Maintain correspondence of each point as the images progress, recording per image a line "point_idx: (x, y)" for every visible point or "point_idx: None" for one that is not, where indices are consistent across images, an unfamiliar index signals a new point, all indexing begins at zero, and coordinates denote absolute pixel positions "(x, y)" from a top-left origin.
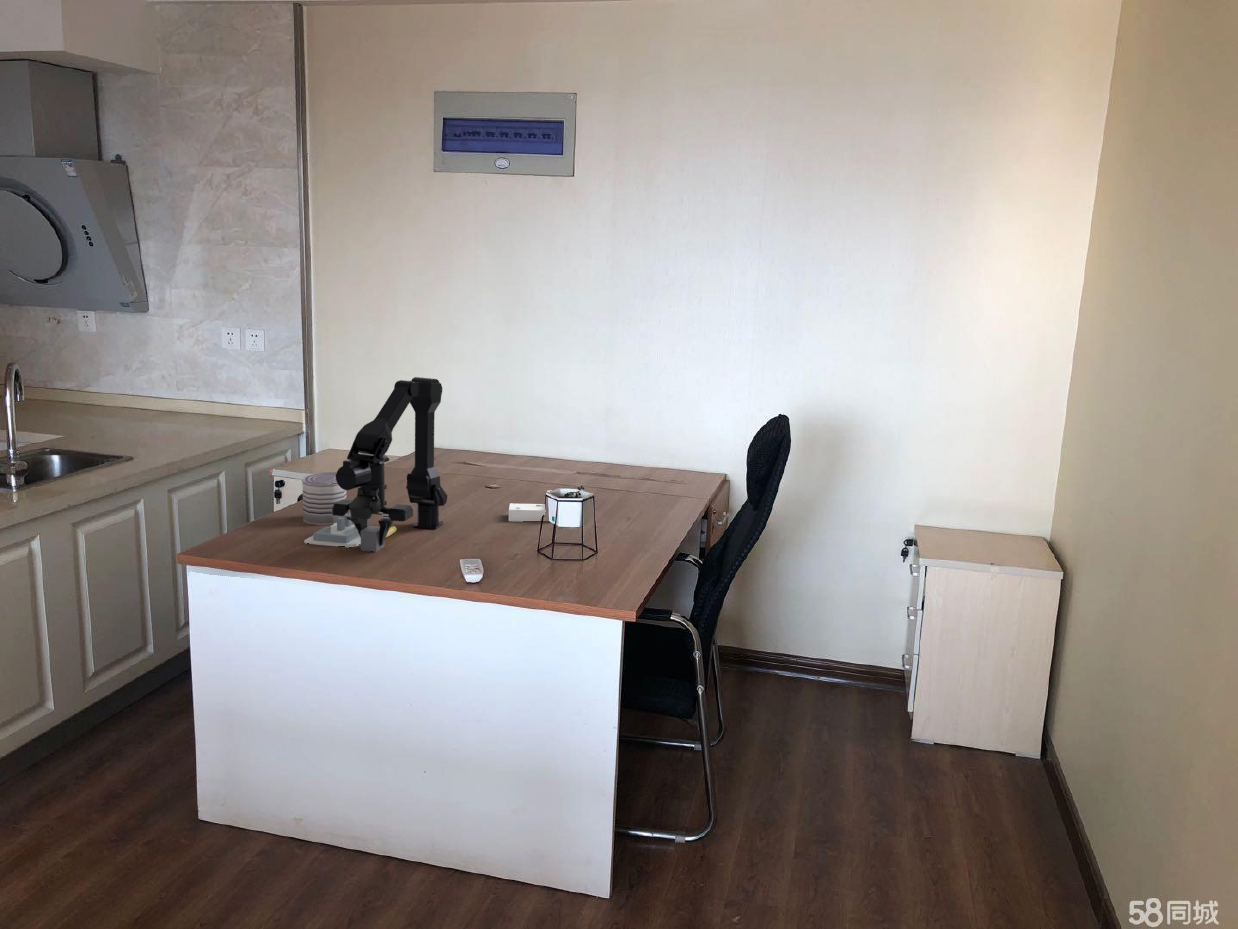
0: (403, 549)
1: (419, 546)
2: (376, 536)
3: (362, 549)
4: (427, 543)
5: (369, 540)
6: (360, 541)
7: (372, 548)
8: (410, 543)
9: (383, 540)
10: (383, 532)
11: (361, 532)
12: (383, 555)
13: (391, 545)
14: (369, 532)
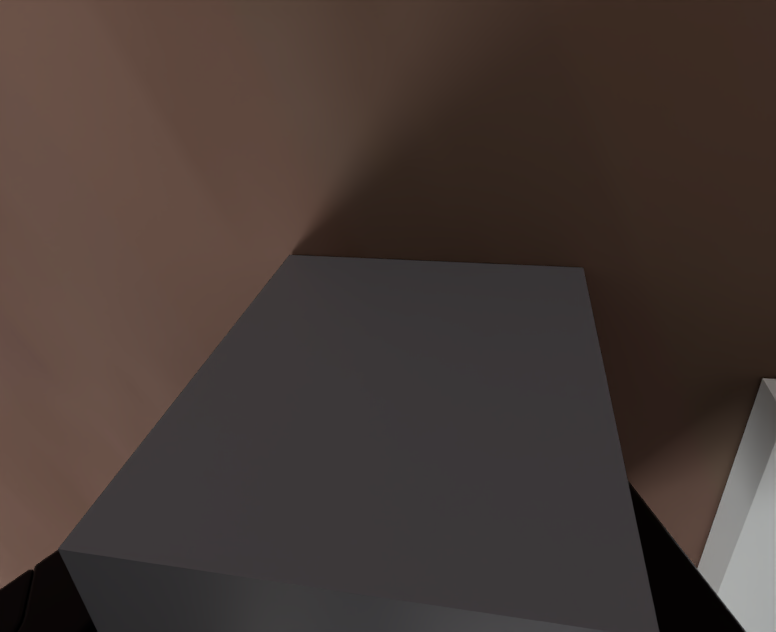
0: (61, 440)
1: (8, 546)
2: (146, 454)
3: (551, 279)
4: None
5: (368, 382)
6: None
7: (341, 283)
8: None
9: None
10: (5, 600)
11: (615, 575)
12: (84, 114)
13: None
14: (304, 556)
